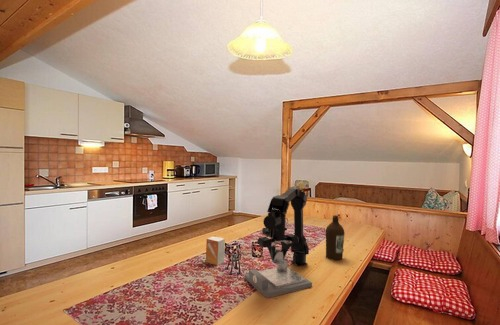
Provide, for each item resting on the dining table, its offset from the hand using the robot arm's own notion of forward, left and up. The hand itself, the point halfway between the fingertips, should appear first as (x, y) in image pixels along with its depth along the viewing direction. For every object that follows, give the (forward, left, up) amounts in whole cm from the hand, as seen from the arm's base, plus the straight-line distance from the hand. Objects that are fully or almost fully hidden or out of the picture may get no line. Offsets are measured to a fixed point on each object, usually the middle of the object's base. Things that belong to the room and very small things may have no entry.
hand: (277, 259), depth 122 cm
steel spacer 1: (0, 0, -1) cm, 1 cm away
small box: (+16, -37, -12) cm, 42 cm away
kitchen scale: (-2, -3, -12) cm, 13 cm away
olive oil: (-51, -16, -12) cm, 55 cm away
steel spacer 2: (-8, -8, -9) cm, 15 cm away
